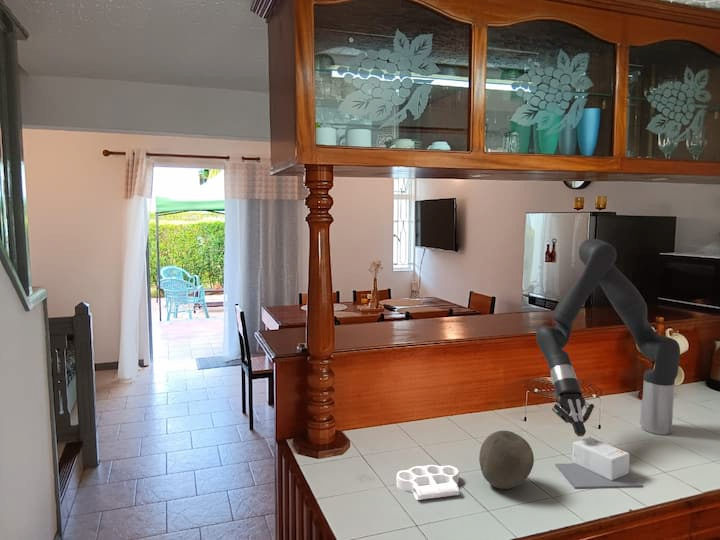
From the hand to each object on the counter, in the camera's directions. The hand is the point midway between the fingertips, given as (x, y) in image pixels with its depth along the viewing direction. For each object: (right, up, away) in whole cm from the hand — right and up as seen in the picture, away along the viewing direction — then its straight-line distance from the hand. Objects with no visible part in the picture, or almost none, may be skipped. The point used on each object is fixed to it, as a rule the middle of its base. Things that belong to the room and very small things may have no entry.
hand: (581, 435), depth 150 cm
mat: (+2, -10, -5) cm, 11 cm away
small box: (+1, -5, +4) cm, 7 cm away
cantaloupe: (-26, -11, -10) cm, 29 cm away
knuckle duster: (-46, -11, -9) cm, 49 cm away
